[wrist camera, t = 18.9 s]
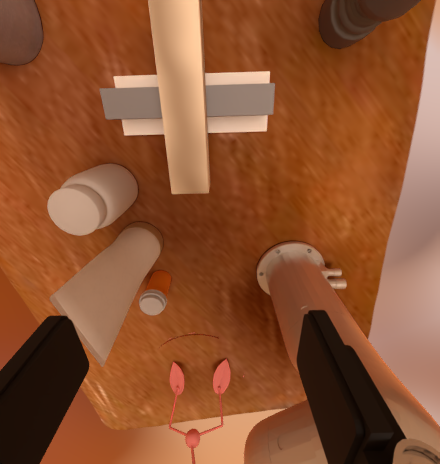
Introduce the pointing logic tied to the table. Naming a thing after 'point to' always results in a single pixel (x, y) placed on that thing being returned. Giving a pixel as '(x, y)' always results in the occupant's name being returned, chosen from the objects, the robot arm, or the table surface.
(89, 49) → the table surface
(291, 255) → the robot arm
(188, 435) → the figurine
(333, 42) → the candle holder
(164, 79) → the birch bar
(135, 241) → the toiletry set
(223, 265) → the table surface
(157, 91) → the ridge stand
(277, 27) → the table surface
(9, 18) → the pillar candle
